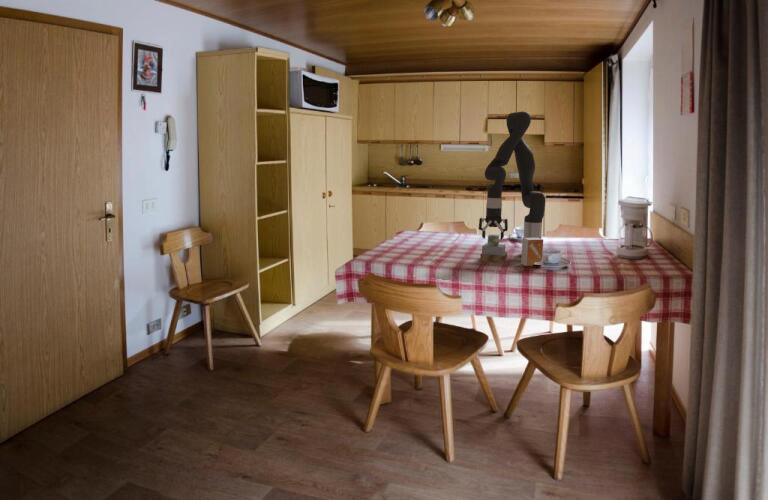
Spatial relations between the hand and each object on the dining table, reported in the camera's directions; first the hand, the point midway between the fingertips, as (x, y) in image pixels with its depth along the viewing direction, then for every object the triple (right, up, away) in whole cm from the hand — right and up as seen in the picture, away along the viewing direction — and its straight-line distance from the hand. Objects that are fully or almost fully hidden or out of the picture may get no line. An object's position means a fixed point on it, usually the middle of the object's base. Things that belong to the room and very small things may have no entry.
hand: (492, 238), depth 305 cm
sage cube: (0, -3, 0) cm, 3 cm away
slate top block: (+1, -7, +1) cm, 7 cm away
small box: (+17, -13, -10) cm, 24 cm away
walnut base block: (+1, -11, +2) cm, 11 cm away
